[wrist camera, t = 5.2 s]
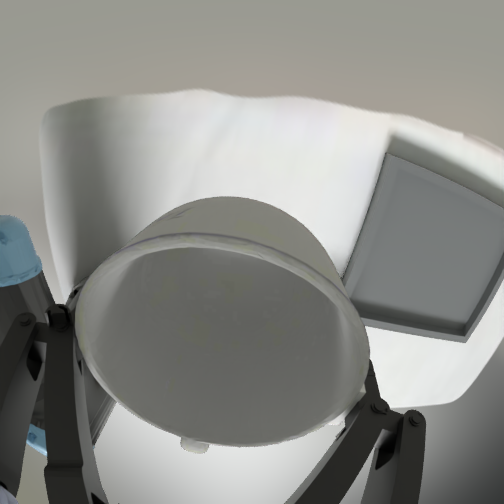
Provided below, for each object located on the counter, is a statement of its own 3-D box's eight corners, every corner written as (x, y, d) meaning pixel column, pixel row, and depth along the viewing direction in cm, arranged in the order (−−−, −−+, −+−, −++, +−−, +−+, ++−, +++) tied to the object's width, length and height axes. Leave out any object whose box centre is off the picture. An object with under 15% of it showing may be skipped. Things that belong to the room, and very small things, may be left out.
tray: (329, 309, 32) (331, 318, 30) (385, 152, 24) (391, 154, 22) (460, 335, 31) (465, 343, 30) (519, 218, 23) (527, 223, 22)
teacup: (189, 144, 13) (92, 172, 6) (377, 239, 14) (438, 339, 7) (129, 331, 19) (77, 412, 12) (261, 389, 20) (248, 482, 13)
